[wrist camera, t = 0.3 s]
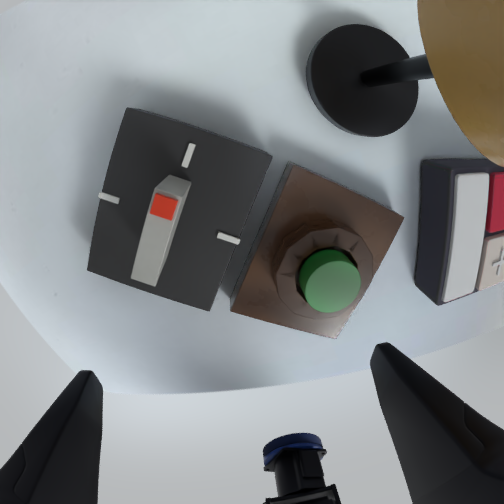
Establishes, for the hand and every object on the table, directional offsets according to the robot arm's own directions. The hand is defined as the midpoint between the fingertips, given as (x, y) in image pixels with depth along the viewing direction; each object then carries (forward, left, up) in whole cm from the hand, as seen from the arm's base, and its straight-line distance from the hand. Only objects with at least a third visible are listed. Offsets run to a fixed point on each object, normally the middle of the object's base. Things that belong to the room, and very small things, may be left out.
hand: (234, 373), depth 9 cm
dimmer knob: (0, +4, -11) cm, 12 cm away
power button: (0, -7, -11) cm, 12 cm away
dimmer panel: (0, +4, -14) cm, 14 cm away
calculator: (+9, -21, -14) cm, 26 cm away
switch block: (0, -7, -14) cm, 15 cm away
